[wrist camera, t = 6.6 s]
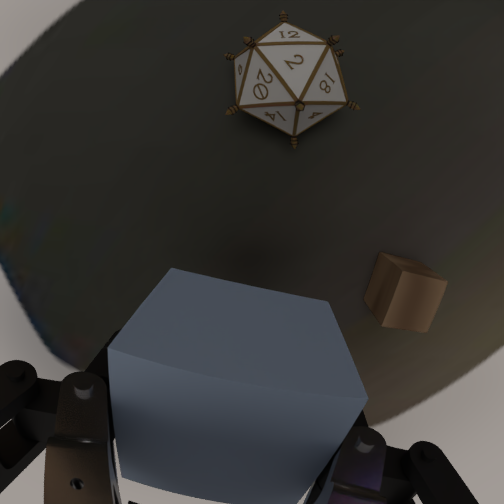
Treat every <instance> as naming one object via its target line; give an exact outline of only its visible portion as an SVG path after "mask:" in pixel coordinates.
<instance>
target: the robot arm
mask: <svg viewBox="0 0 504 504" xmlns="http://www.w3.org/2000/svg"><path fill="white" fill-rule="evenodd" d="M121 330H122V329H120V330H118V331H116V332H115V333H114V334H113V335H112V337H111V338H110V339H109V342H107V343H106V344H105V346H104V348H102V349H101V351H100V352H99V353H98V355H97V356H96V357H95V358H94V360H93V361H92V362H91V364H90V365H89V366H88V367H87V369H86V370H85V371H84V372H82V371H81V372H74V373H71V374H69V375H67V376H66V377H65V378H64V379H63V380H62V381H54V380H47V379H41V378H37V373H36V370H35V368H34V367H33V366H32V365H31V364H29V363H27V362H25V361H20V360H12V361H8V362H6V363H4V364H2V365H1V366H0V428H1V427H2V426H3V425H4V424H6V423H7V422H8V421H9V420H10V419H12V420H11V421H9V422H8V423H7V424H6V425H5V426H3V427H2V428H1V429H0V493H1V492H2V491H3V490H4V489H5V488H6V487H7V486H8V485H9V484H10V483H11V482H12V481H13V480H14V479H15V478H16V477H17V476H18V475H19V474H20V473H21V472H22V471H23V470H24V469H25V468H26V467H27V466H28V465H29V464H30V463H31V462H32V461H33V460H34V459H35V458H36V457H37V456H38V455H39V454H40V453H41V452H42V451H43V450H44V449H45V448H46V456H45V473H44V504H122V503H121V498H120V493H119V487H118V479H117V471H116V462H115V452H114V442H113V440H114V438H115V432H114V424H113V416H112V406H111V396H110V384H109V368H108V346H109V345H110V344H111V342H112V341H113V340H114V339H115V337H116V336H117V335H118V333H119V332H120V331H121ZM416 494H417V495H418V496H419V498H420V500H421V502H422V503H423V504H479V503H478V502H477V500H476V499H475V498H474V496H473V495H472V493H471V492H470V490H469V489H468V487H467V486H466V484H465V483H464V481H463V480H462V479H461V477H460V476H459V474H458V473H457V471H456V470H455V469H454V467H453V466H452V464H451V463H450V462H449V460H448V459H447V457H446V456H445V455H444V453H443V452H442V450H441V449H440V448H439V447H438V446H436V445H435V444H433V443H430V442H427V441H419V442H416V443H414V444H413V445H412V446H411V447H410V449H409V450H403V449H399V448H394V447H390V446H387V445H386V441H385V439H384V438H383V437H382V435H381V434H380V433H379V432H377V431H375V430H374V429H372V428H369V427H368V424H367V421H366V418H365V415H364V412H363V410H362V411H361V412H360V414H359V416H358V417H357V419H356V421H355V422H354V424H353V426H352V427H351V429H350V430H349V432H348V434H347V435H346V437H345V438H344V440H343V441H342V443H341V444H340V446H339V447H338V449H337V450H336V452H335V453H334V455H333V456H332V458H331V459H330V460H329V462H328V463H327V465H326V466H325V467H324V469H323V470H322V472H321V473H320V474H319V476H318V477H317V478H316V480H315V481H314V482H313V484H312V485H311V487H310V489H309V492H308V494H307V496H306V498H305V501H304V503H303V504H415V502H414V500H413V499H412V498H413V497H414V496H415V495H416ZM128 504H138V503H135V502H131V501H129V502H128Z"/></svg>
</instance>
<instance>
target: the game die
mask: <svg viewBox="0 0 504 504" xmlns="http://www.w3.org/2000/svg"><path fill="white" fill-rule="evenodd" d="M279 16H280V19H281V23H279V24H278V25H277V26H275V27H274V28H272V29H271V30H269V31H268V32H267V33H265V34H264V35H262V36H261V37H260V38H258V39H257V40H256V41H254V39H252V37H244V42H243V43H245V44H246V45H247V46H248V47H246V48H245V49H244V50H242V51H241V52H240V53H239V54H237V55H236V56H234V54H231V53H228V54H224V56H225V57H226V59H227V60H230V61H231V60H234V71H235V93H236V105H235V106H231V107H230V108H229V107H228V110H227V112H226V114H225V115H229V114H231V115H233V114H234V113H236V111H237V110H238V109H239V110H241V111H243V112H246V113H248V114H250V115H252V116H254V117H256V118H258V119H260V120H262V121H264V122H265V123H267V124H269V125H271V126H273V127H275V128H277V129H279V130H281V131H283V132H284V133H286V134H288V135H290V136H291V140H290V141H291V143H290V144H291V145H292V147H293V148H294V149H295V148H296V146H297V145H298V140H297V135H299V134H300V133H302V132H304V131H305V130H307V129H308V128H310V127H311V126H313V125H315V124H316V123H318V122H319V121H321V120H323V119H324V118H326V117H327V116H329V115H331V114H332V113H334V112H336V111H337V110H339V109H341V108H342V107H344V106H346V105H348V106H349V107H350V108H352V109H353V110H360V108H359V107H358V105H357V103H354V101H353V102H351V101H349V100H348V97H347V92H346V88H345V84H344V80H343V77H342V73H341V69H340V65H339V62H338V58H337V57H340V56H343V52H344V50H341V49H339V50H337V51H334V49H333V47H332V45H335V44H336V43H338V42H339V36H340V35H339V36H332V35H331V37H330V38H328V39H329V40H328V41H326V40H324V39H322V38H320V37H318V36H316V35H314V34H312V33H310V32H308V31H306V30H304V29H301V28H299V27H297V26H295V25H293V24H290V23H288V22H287V19H288V18H287V16H288V15H287V14H286V13H285V12H284V11H282V12H281V14H280V15H279Z"/></svg>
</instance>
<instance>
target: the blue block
mask: <svg viewBox="0 0 504 504" xmlns="http://www.w3.org/2000/svg"><path fill="white" fill-rule="evenodd" d="M108 368H109V384H110V396H111V406H112V416H113V424H114V432H115V439H116V446H117V452H118V458H119V464H120V470H121V475H122V477H123V478H126V479H129V480H132V481H135V482H138V483H141V484H144V485H148V486H151V487H155V488H158V489H162V490H165V491H169V492H173V493H178V494H182V495H186V496H191V497H195V498H200V499H205V500H211V501H216V502H223V503H229V504H297V503H298V501H299V500H300V499H301V498H302V496H303V495H304V494H305V493H306V491H307V490H308V489H309V487H310V486H311V485H312V484H313V482H314V481H315V480H316V478H317V477H318V476H319V474H320V473H321V472H322V470H323V469H324V467H325V466H326V465H327V463H328V462H329V460H330V459H331V458H332V456H333V455H334V453H335V452H336V450H337V449H338V447H339V446H340V444H341V443H342V441H343V440H344V438H345V437H346V435H347V434H348V432H349V430H350V429H351V427H352V426H353V424H354V422H355V421H356V419H357V417H358V416H359V414H360V412H361V411H362V409H363V407H364V406H365V404H366V402H367V400H368V397H367V394H366V392H365V389H364V386H363V384H362V381H361V379H360V376H359V374H358V371H357V369H356V367H355V364H354V362H353V359H352V357H351V354H350V352H349V350H348V347H347V345H346V342H345V340H344V338H343V335H342V333H341V331H340V328H339V326H338V324H337V321H336V319H335V317H334V314H333V312H332V310H331V307H330V305H329V303H328V302H327V301H322V300H317V299H312V298H307V297H302V296H297V295H292V294H287V293H282V292H277V291H273V290H268V289H263V288H258V287H254V286H249V285H245V284H240V283H235V282H231V281H226V280H222V279H217V278H213V277H209V276H204V275H200V274H196V273H191V272H187V271H183V270H178V269H174V268H171V269H170V270H169V271H168V273H167V274H166V275H165V276H164V277H163V279H162V280H161V281H160V282H159V283H158V285H157V286H156V287H155V288H154V290H153V291H152V292H151V293H150V294H149V296H148V297H147V298H146V299H145V301H144V302H143V303H142V304H141V306H140V307H139V308H138V309H137V311H136V312H135V313H134V314H133V316H132V317H131V318H130V319H129V321H128V322H127V323H126V324H125V326H124V327H123V328H122V330H121V331H120V332H119V333H118V335H117V336H116V337H115V339H114V340H113V341H112V342H111V344H110V345H109V346H108Z"/></svg>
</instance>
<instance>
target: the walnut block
mask: <svg viewBox="0 0 504 504" xmlns="http://www.w3.org/2000/svg"><path fill="white" fill-rule="evenodd" d="M447 284H448V282H447V281H446V280H445V279H443V278H442V277H441V276H439V275H438V274H437V273H435V272H434V271H432V270H431V269H430V268H428V267H427V266H425V265H424V264H423V263H421V262H418V261H414V260H410V259H406V258H403V257H399V256H395V255H391V254H387V253H383V252H379V255H378V258H377V261H376V264H375V267H374V270H373V273H372V276H371V279H370V282H369V285H368V288H367V291H366V293H365V296H364V299H363V300H364V301H365V303H366V304H367V305H368V307H369V308H370V310H371V311H372V313H373V314H374V316H375V317H376V319H377V320H378V322H379V323H380V325H381V326H383V327H389V328H396V329H402V330H409V331H416V332H423V333H427V332H428V329H429V327H430V325H431V323H432V320H433V318H434V316H435V314H436V311H437V309H438V306H439V304H440V302H441V299H442V297H443V294H444V292H445V289H446V286H447Z"/></svg>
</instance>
